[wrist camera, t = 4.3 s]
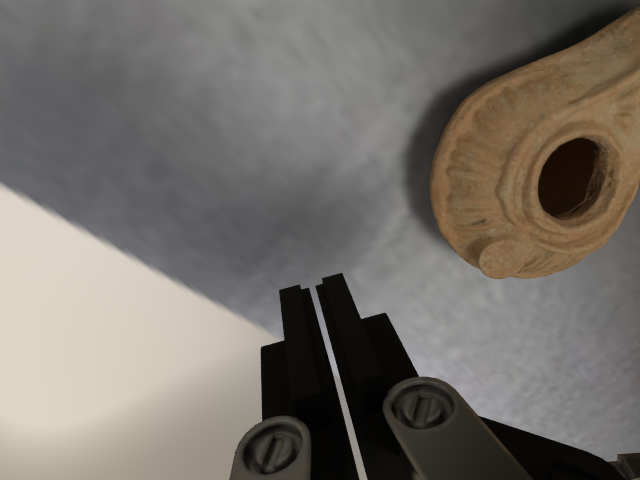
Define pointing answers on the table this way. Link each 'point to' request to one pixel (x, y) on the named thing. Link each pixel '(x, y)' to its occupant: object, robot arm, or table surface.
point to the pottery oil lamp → (543, 158)
